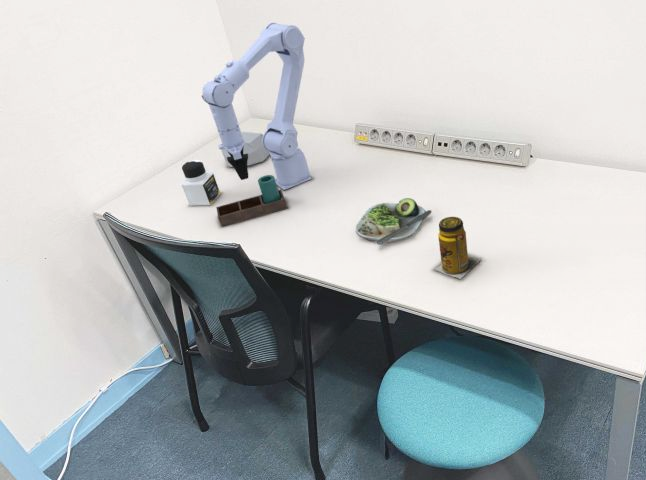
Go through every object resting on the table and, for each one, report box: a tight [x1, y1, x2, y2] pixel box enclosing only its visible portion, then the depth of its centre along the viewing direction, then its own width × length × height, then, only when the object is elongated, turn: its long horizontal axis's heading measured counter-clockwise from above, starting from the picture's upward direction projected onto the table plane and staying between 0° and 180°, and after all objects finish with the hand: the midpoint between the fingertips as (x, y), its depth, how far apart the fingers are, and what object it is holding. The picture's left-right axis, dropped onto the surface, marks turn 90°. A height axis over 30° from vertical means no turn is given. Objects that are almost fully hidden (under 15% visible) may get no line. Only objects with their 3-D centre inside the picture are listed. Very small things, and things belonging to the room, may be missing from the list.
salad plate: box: [355, 197, 432, 246], centre depth 153 cm, size 19×18×5 cm
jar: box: [257, 174, 281, 204], centre depth 170 cm, size 5×5×8 cm
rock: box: [221, 131, 270, 168], centre depth 199 cm, size 18×20×10 cm
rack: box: [215, 189, 288, 228], centre depth 171 cm, size 19×7×3 cm, turn 108°
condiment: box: [433, 216, 482, 280], centre depth 135 cm, size 7×8×12 cm
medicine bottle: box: [181, 159, 221, 207], centre depth 178 cm, size 7×7×12 cm
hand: (243, 173), depth 171 cm, fingers open, 7 cm apart
